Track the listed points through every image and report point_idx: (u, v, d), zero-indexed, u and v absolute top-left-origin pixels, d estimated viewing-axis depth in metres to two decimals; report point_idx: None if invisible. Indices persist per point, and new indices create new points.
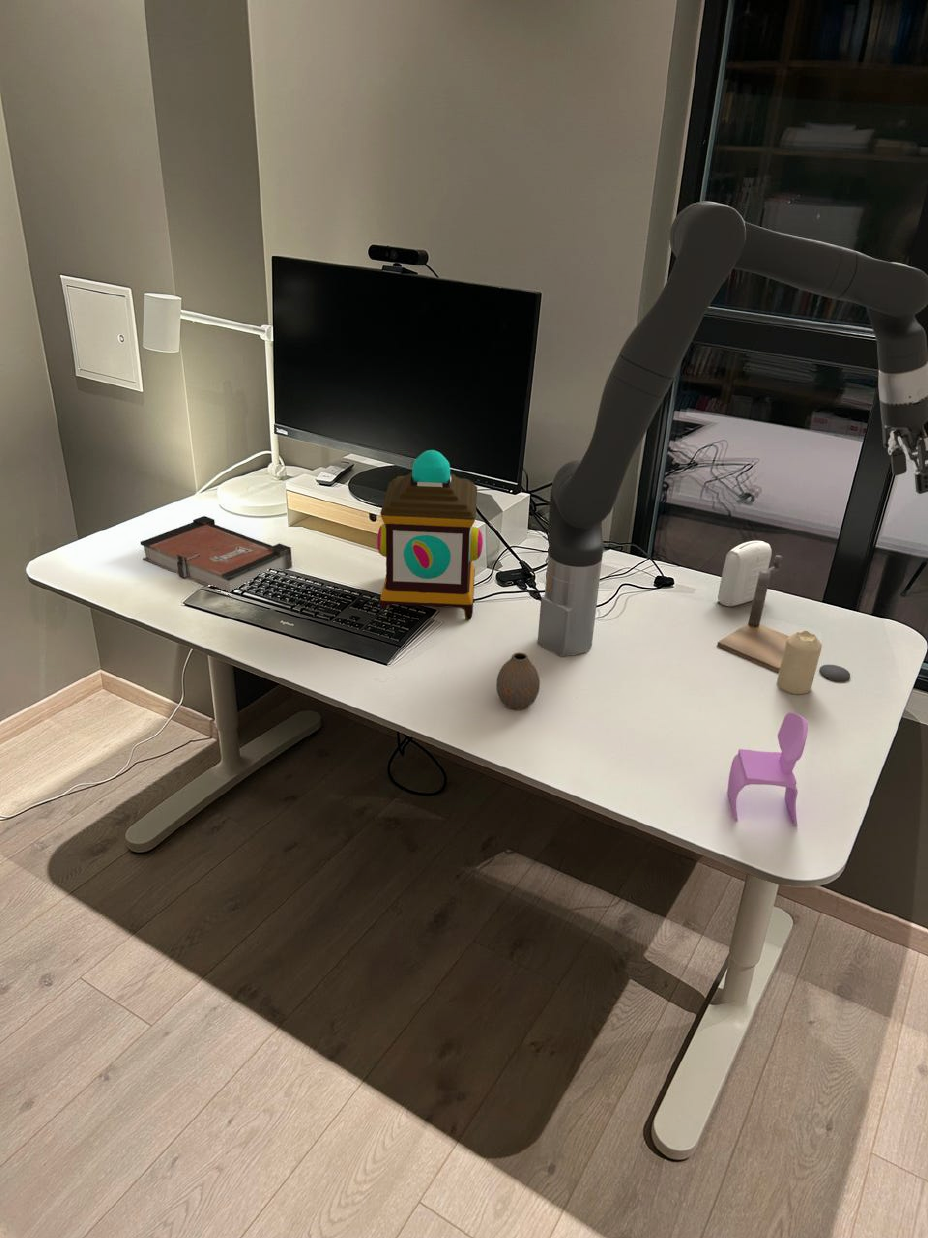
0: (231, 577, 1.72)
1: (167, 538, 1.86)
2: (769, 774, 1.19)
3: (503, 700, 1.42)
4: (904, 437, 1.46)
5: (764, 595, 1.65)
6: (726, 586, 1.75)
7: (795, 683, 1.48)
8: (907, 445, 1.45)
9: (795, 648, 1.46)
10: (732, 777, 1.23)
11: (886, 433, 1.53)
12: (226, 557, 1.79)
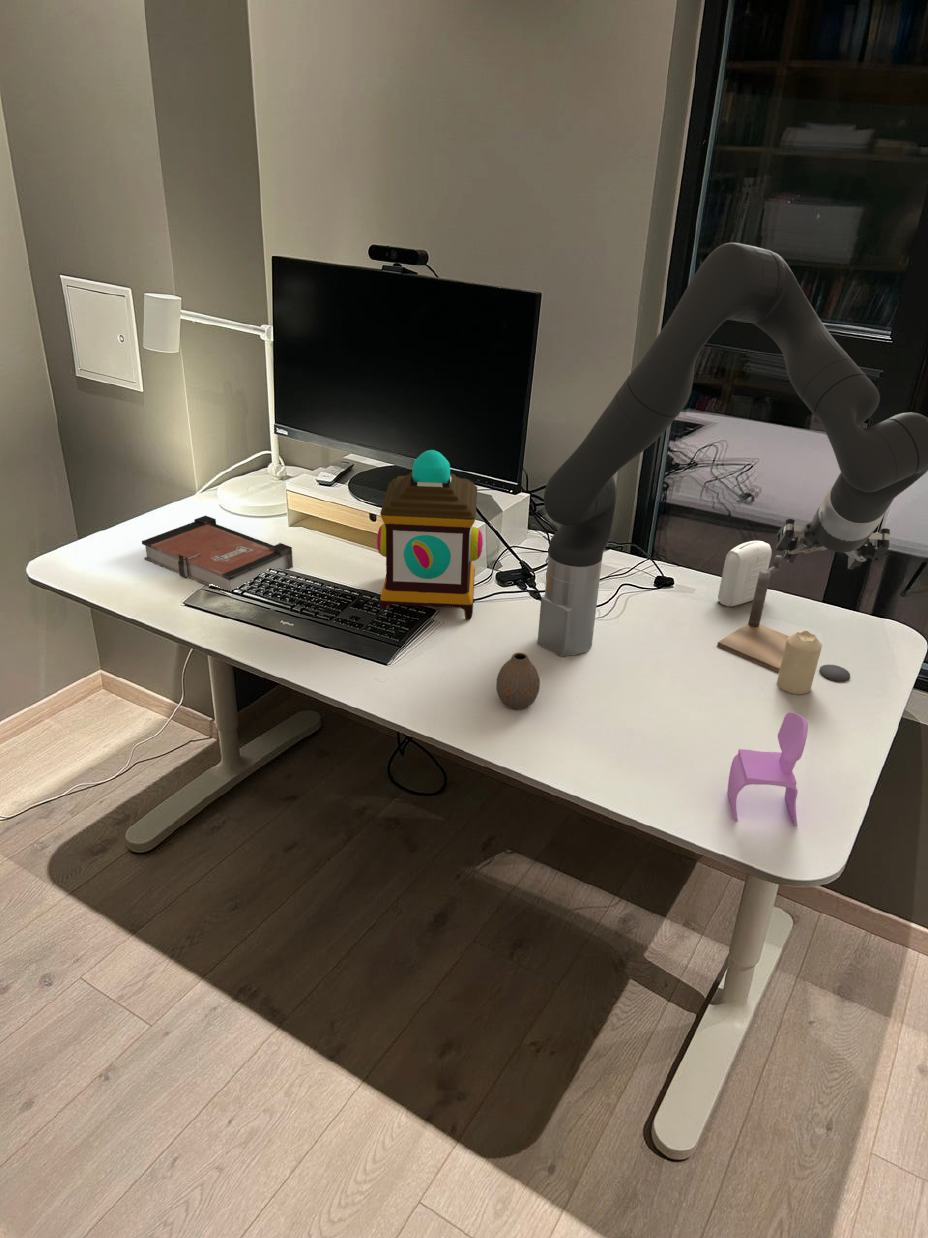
0: (232, 576, 1.72)
1: (168, 538, 1.86)
2: (769, 774, 1.19)
3: (503, 700, 1.42)
4: None
5: (764, 595, 1.65)
6: (726, 587, 1.75)
7: (795, 683, 1.48)
8: None
9: (795, 648, 1.46)
10: (732, 777, 1.23)
11: None
12: (227, 556, 1.79)
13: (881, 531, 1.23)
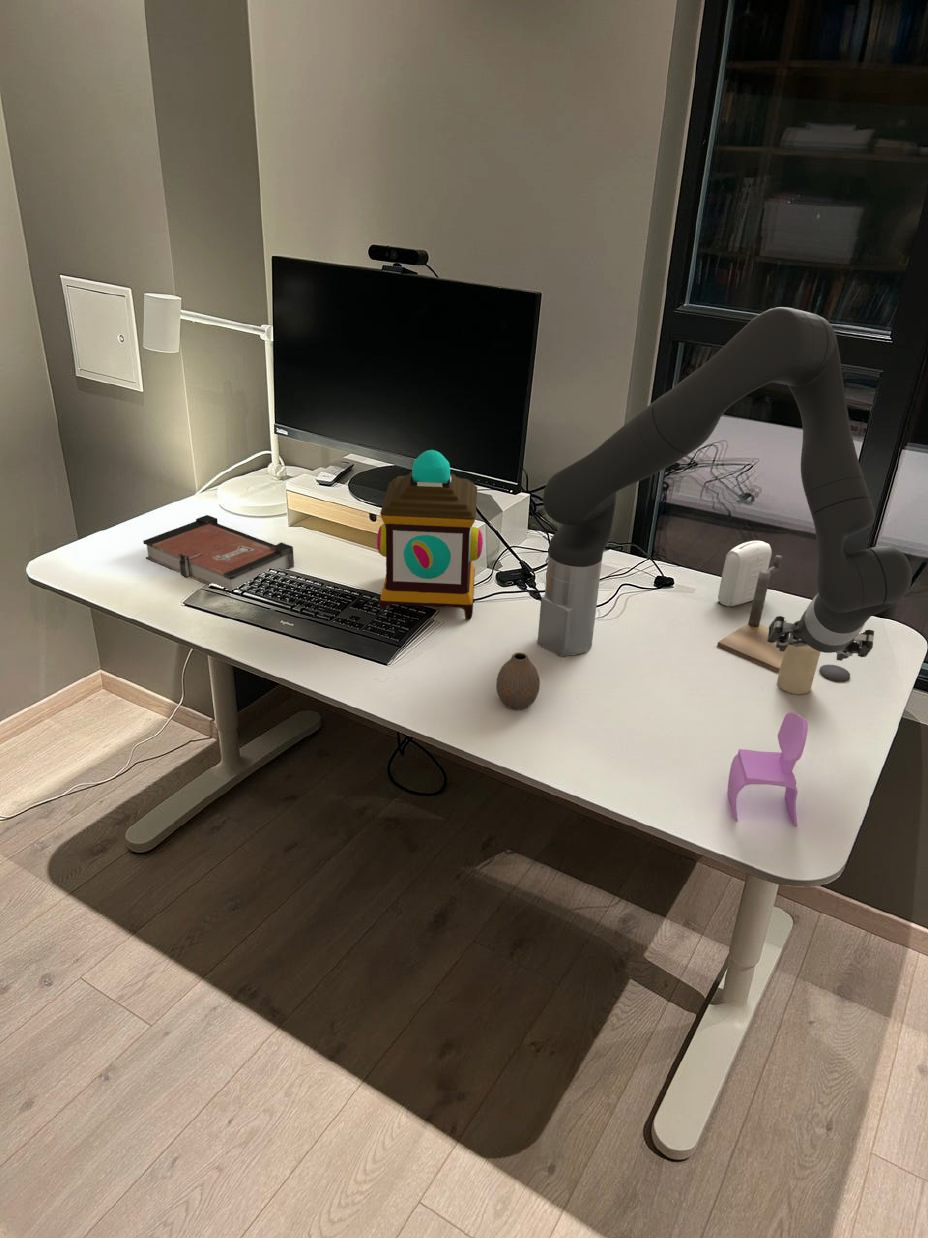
0: (233, 576, 1.72)
1: (169, 537, 1.86)
2: (769, 774, 1.19)
3: (503, 700, 1.42)
4: None
5: (764, 595, 1.65)
6: (726, 586, 1.75)
7: (795, 683, 1.48)
8: None
9: (795, 648, 1.46)
10: (732, 777, 1.23)
11: None
12: (228, 556, 1.79)
13: (866, 632, 1.30)
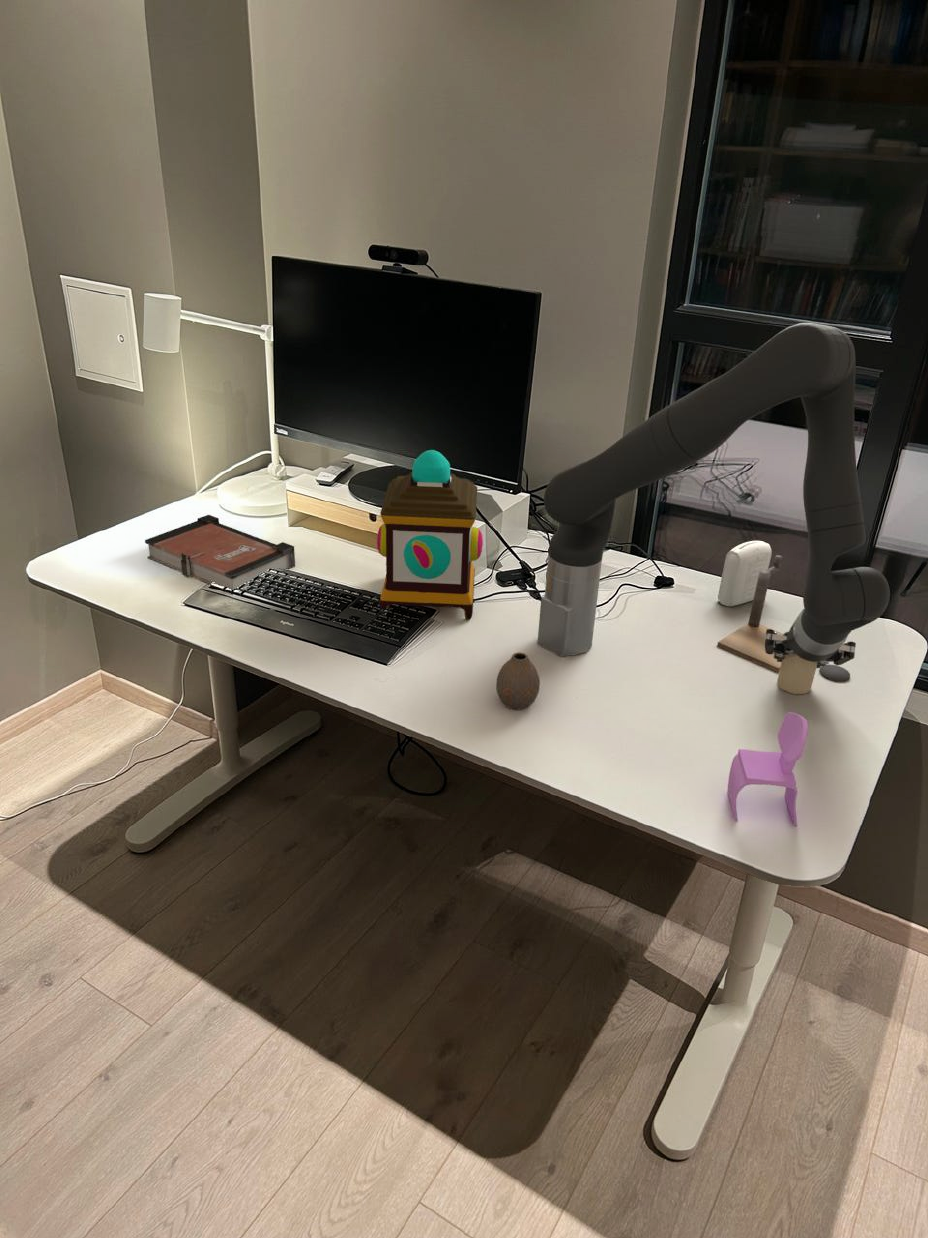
0: (234, 575, 1.72)
1: (171, 537, 1.86)
2: (769, 774, 1.19)
3: (503, 700, 1.42)
4: None
5: (764, 595, 1.65)
6: (726, 586, 1.75)
7: (795, 683, 1.48)
8: None
9: None
10: (732, 777, 1.23)
11: None
12: (230, 555, 1.80)
13: (849, 644, 1.41)
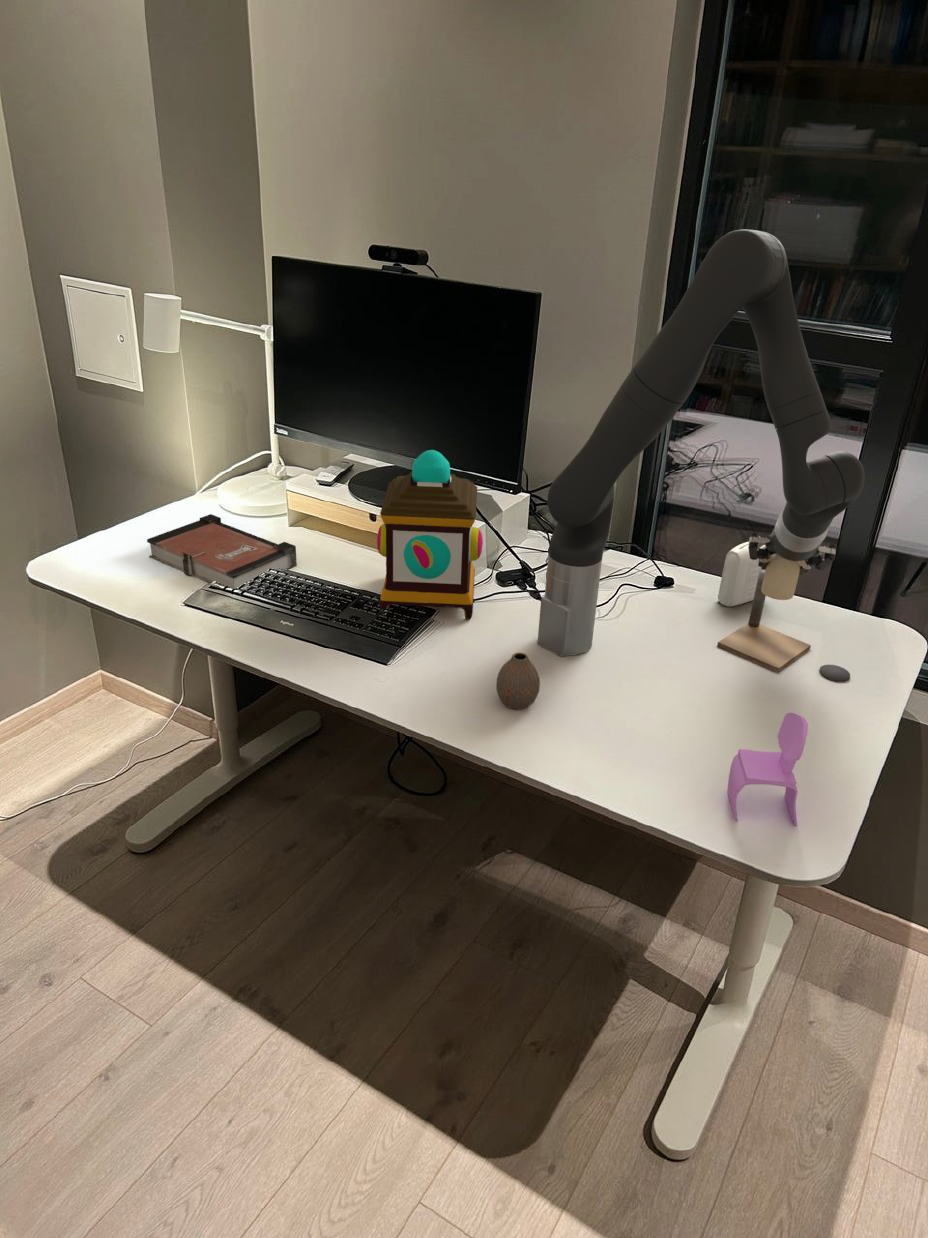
0: (236, 575, 1.73)
1: (173, 536, 1.87)
2: (769, 774, 1.19)
3: (503, 700, 1.42)
4: None
5: (764, 595, 1.65)
6: (726, 587, 1.75)
7: (778, 588, 1.53)
8: None
9: None
10: (732, 777, 1.23)
11: None
12: (231, 555, 1.80)
13: (829, 546, 1.46)
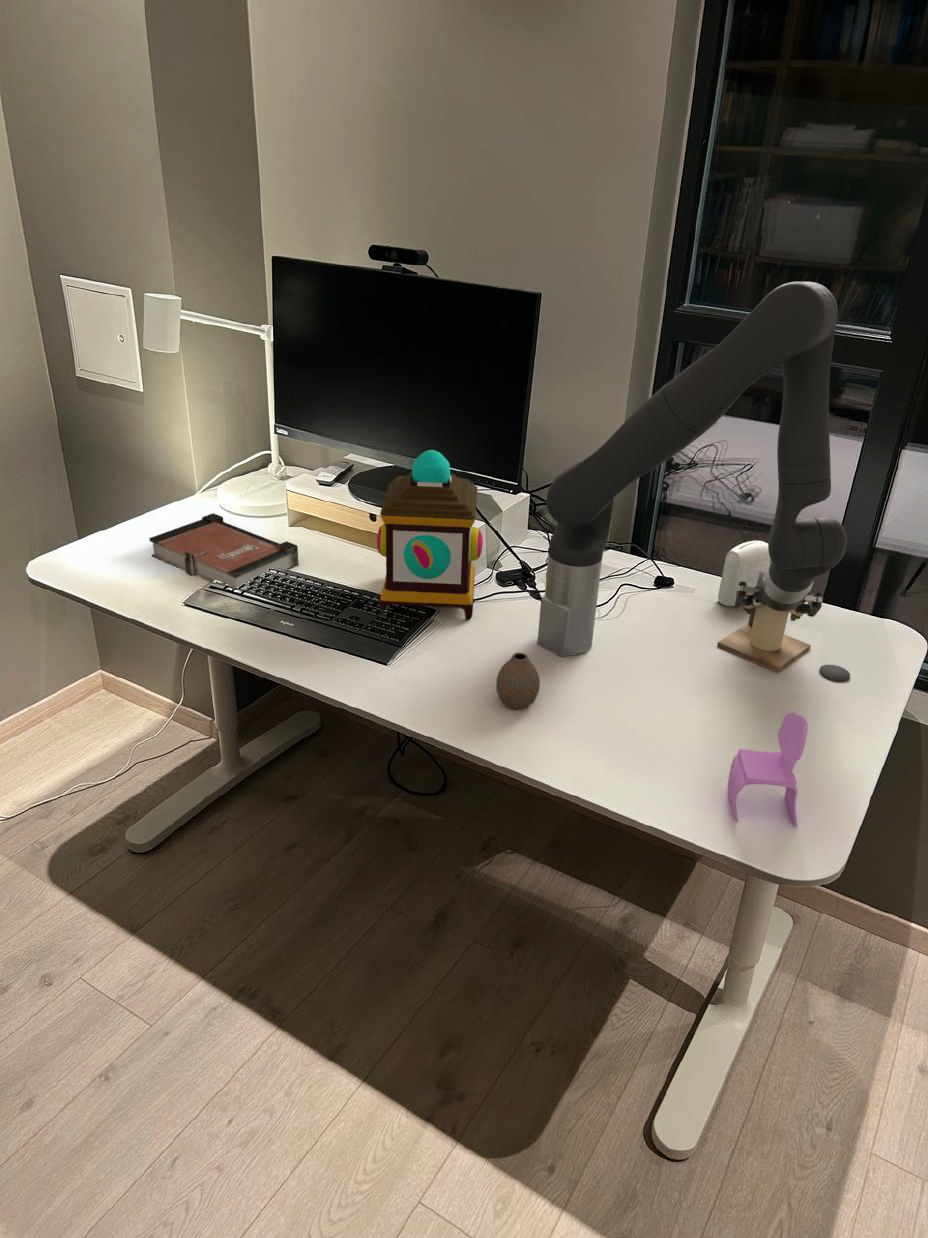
0: (237, 574, 1.73)
1: (175, 535, 1.87)
2: (769, 774, 1.19)
3: (503, 700, 1.42)
4: None
5: None
6: (726, 586, 1.75)
7: (766, 640, 1.59)
8: None
9: (765, 607, 1.57)
10: (732, 777, 1.23)
11: None
12: (233, 554, 1.80)
13: (816, 594, 1.51)
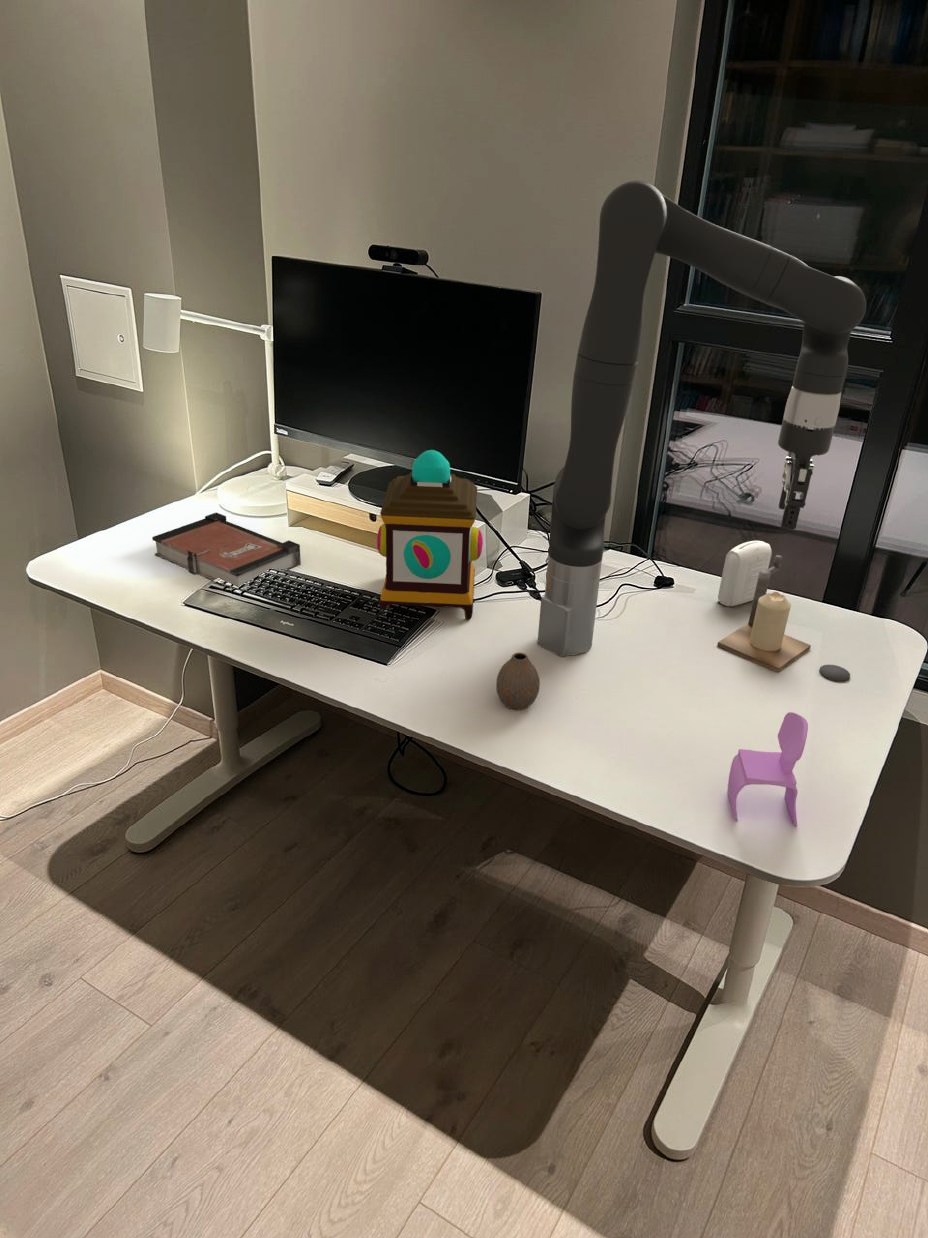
0: (239, 573, 1.73)
1: (178, 534, 1.88)
2: (769, 774, 1.19)
3: (503, 700, 1.42)
4: (790, 464, 1.37)
5: None
6: (726, 586, 1.75)
7: (766, 640, 1.59)
8: (789, 473, 1.37)
9: (765, 607, 1.57)
10: (732, 777, 1.23)
11: None
12: (235, 553, 1.81)
13: None
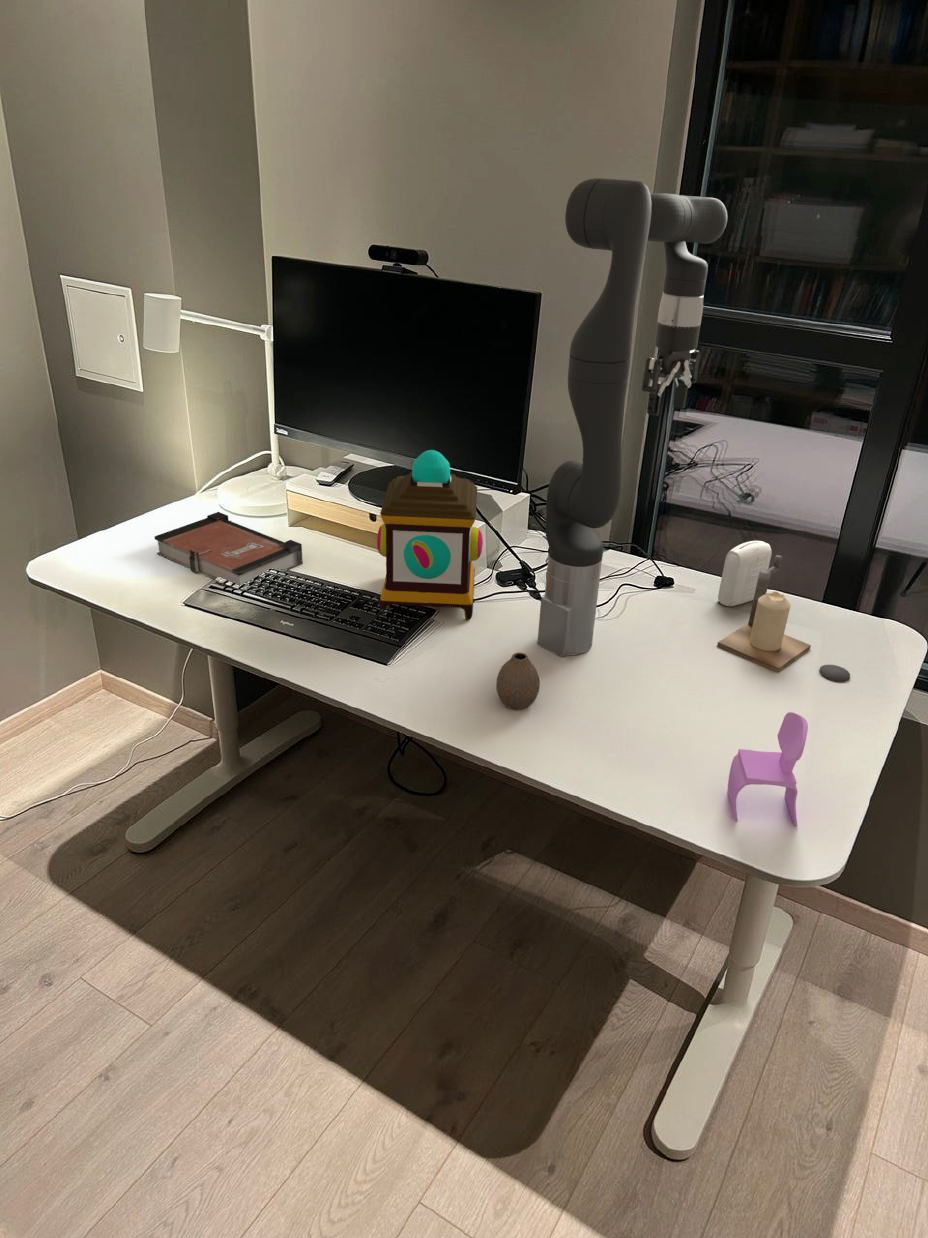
0: (241, 572, 1.74)
1: (180, 533, 1.88)
2: (769, 774, 1.19)
3: (503, 700, 1.42)
4: (685, 360, 1.62)
5: None
6: (726, 586, 1.75)
7: (766, 640, 1.59)
8: None
9: (765, 607, 1.57)
10: (732, 777, 1.23)
11: (657, 376, 1.59)
12: (237, 552, 1.81)
13: None
